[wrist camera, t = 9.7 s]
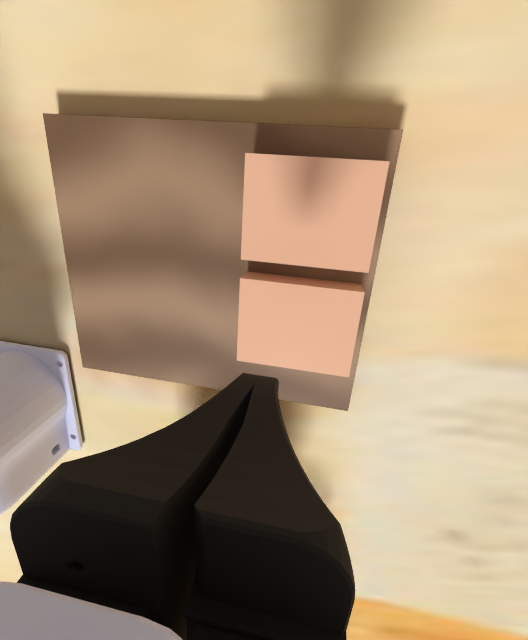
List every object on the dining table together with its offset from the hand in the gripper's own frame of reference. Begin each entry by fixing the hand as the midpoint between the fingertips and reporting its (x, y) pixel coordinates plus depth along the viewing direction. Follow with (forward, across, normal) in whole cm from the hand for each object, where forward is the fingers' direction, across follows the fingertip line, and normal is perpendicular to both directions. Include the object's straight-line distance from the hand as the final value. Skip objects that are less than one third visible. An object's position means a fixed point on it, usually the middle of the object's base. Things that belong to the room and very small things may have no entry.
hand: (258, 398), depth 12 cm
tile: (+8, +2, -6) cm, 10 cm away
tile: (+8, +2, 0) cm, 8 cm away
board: (+10, +5, -2) cm, 11 cm away
